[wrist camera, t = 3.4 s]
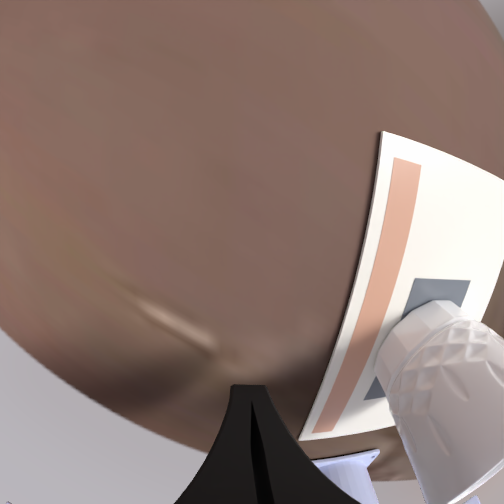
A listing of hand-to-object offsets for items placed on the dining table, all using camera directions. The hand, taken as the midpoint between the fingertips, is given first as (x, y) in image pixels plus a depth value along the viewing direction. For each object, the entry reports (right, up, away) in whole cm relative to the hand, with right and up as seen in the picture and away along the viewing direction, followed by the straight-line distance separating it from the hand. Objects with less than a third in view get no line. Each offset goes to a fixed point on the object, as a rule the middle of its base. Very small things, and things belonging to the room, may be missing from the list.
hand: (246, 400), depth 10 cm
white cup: (+10, 0, +4) cm, 11 cm away
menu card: (+11, +1, +4) cm, 11 cm away
